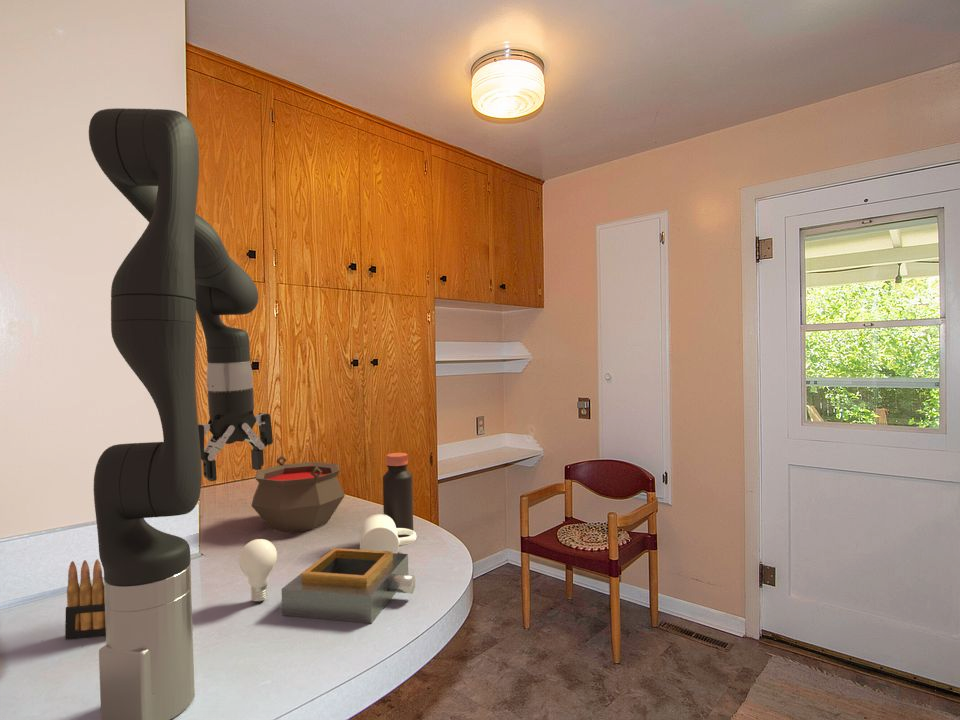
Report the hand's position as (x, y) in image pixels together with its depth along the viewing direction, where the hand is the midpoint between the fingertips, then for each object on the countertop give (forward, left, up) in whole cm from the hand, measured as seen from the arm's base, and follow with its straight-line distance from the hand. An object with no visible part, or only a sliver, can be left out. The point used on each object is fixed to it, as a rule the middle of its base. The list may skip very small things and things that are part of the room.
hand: (235, 474), depth 99 cm
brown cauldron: (+39, +10, -22) cm, 46 cm away
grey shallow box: (+3, -23, -22) cm, 32 cm away
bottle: (+31, -20, -22) cm, 43 cm away
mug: (+22, -21, -22) cm, 37 cm away
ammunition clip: (-16, +12, -22) cm, 30 cm away
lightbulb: (-2, -6, -22) cm, 23 cm away
